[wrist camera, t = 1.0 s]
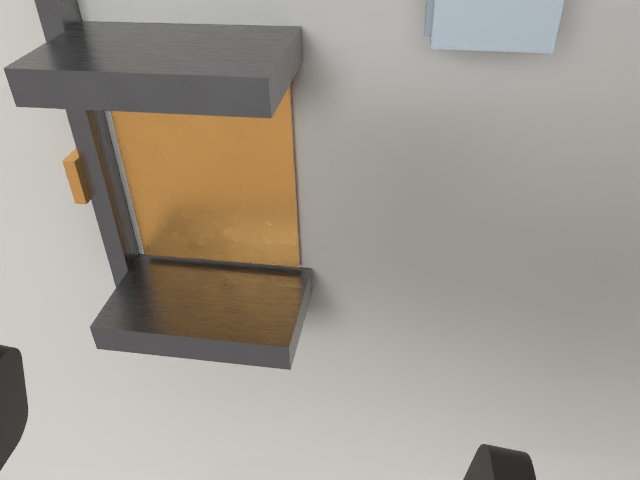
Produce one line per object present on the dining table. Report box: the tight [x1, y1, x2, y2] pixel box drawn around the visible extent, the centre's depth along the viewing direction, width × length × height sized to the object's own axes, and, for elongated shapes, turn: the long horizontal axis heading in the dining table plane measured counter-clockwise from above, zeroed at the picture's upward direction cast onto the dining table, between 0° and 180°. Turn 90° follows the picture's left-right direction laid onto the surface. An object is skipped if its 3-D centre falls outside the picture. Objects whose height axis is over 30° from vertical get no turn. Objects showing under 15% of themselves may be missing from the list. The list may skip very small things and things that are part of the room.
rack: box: [4, 0, 312, 370], centre depth 25 cm, size 28×12×6 cm, turn 1°
